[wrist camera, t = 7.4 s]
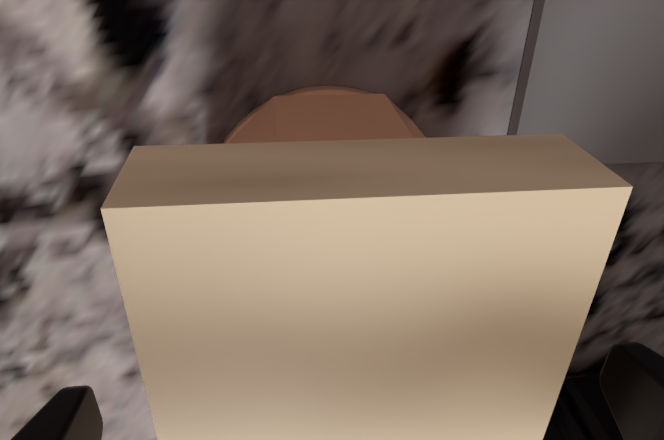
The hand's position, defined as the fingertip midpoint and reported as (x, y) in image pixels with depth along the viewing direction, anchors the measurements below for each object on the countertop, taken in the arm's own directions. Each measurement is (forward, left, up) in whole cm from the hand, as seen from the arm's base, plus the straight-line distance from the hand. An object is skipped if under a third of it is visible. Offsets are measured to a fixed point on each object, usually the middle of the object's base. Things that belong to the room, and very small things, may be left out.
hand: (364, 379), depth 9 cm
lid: (0, 0, -2) cm, 2 cm away
